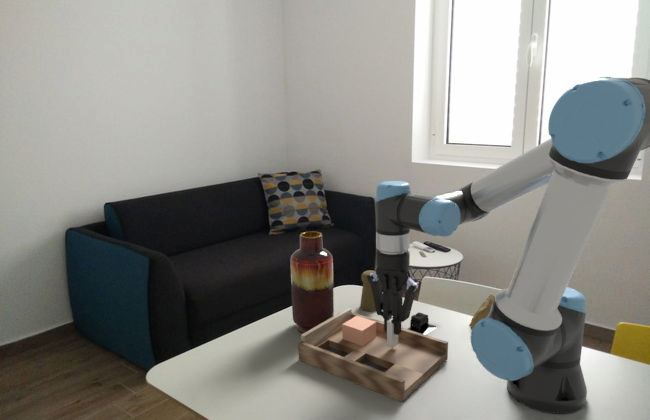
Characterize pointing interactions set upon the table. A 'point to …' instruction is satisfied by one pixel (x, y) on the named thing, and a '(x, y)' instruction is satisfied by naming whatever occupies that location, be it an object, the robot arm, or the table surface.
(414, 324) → the black piece
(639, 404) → the table surface
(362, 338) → the block
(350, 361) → the box
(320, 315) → the vase
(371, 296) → the cork
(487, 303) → the rock
